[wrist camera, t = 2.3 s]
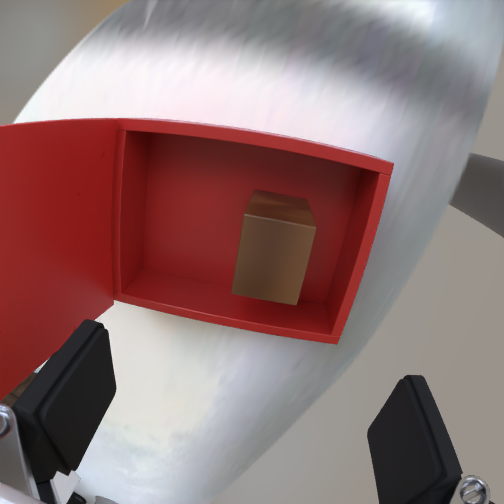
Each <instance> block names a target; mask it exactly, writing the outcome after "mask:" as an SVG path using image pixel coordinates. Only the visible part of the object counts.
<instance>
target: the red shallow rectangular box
mask: <svg viewBox="0 0 504 504" xmlns="http://www.w3.org/2000/svg"><path fill="white" fill-rule="evenodd" d="M117 119H118V120H117V129H116V139H115V150H114V164H113V180H112V206H111V257H112V283H113V300H117V301H120V302H124V303H128V304H132V305H136V306H140V307H144V308H148V309H152V310H156V311H160V312H164V313H168V314H173V315H177V316H181V317H186V318H190V319H195V320H199V321H204V322H209V323H214V324H218V325H223V326H228V327H234V328H239V329H244V330H249V331H255V332H260V333H266V334H272V335H277V336H283V337H290V338H296V339H302V340H309V341H315V342H322V343H330V344H338V341H339V339H340V336H341V334H342V331H343V329H344V326H345V324H346V321H347V318H348V316H349V313H350V310H351V307H352V305H353V302H354V299H355V296H356V293H357V290H358V287H359V285H360V282H361V279H362V276H363V273H364V270H365V266H366V263H367V260H368V257H369V254H370V251H371V247H372V244H373V241H374V237H375V234H376V231H377V227H378V224H379V220H380V216H381V213H382V209H383V205H384V202H385V198H386V194H387V190H388V186H389V182H390V178H391V174H392V170H393V166H394V163H391V162H388V161H386V160H383V159H380V158H377V157H375V156H372V155H368V154H364V153H361V152H357V151H353V150H349V149H345V148H341V147H336V146H332V145H328V144H323V143H319V142H314V141H310V140H305V139H300V138H295V137H290V136H285V135H279V134H274V133H268V132H262V131H256V130H250V129H244V128H237V127H230V126H223V125H215V124H207V123H198V122H189V121H179V120H168V119H155V118H117ZM255 189H257V190H263V191H268V192H273V193H279V194H284V195H289V196H294V197H299V198H304V199H307V201H308V204H309V207H310V210H311V213H312V216H313V219H314V222H315V225H316V233H315V237H314V241H313V245H312V249H311V253H310V257H309V261H308V265H307V269H306V272H305V276H304V280H303V284H302V288H301V291H300V295H299V299H298V302H297V305H290V304H284V303H279V302H273V301H268V300H262V299H257V298H251V297H246V296H241V295H236V294H232V293H231V289H232V283H233V276H234V270H235V264H236V257H237V251H238V245H239V238H240V232H241V226H242V220H243V214H244V212H245V210H246V207H247V205H248V203H249V201H250V198H251V196H252V194H253V191H254V190H255Z"/></svg>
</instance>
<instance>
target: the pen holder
mask: <svg viewBox="0 0 504 504" xmlns="http://www.w3.org/2000/svg"><path fill="white" fill-rule="evenodd" d="M66 504H86V500H85V499H84V498H82V497H81V496H79V495H78V494H76V493H74V492H73V493H72V494H71V496H70V498H69V500H68V502H67V503H66Z"/></svg>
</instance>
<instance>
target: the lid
mask: <svg viewBox="0 0 504 504" xmlns="http://www.w3.org/2000/svg"><path fill="white" fill-rule="evenodd" d="M117 120H118V119H117V118H83V119H62V120H47V121H35V122H25V123H16V124H7V125H0V401H1V400H2V399H3V398H5V397H6V396H7V395H8V394H9V393H10V392H11V391H12V390H13V389H15V388H16V387H17V386H18V385H19V384H20V383H21V382H22V381H23V380H25V379H26V378H27V377H28V376H29V375H30V374H31V373H33V372H34V371H35V370H36V369H37V368H38V367H39V366H41V365H42V364H43V363H44V362H45V361H46V360H48V359H49V358H50V357H51V356H52V355H53V354H54V353H55V352H56V351H58V350H59V349H60V348H61V347H62V345H63V344H64V343H65V342H66V341H67V339H68V338H69V337H70V336H71V335H72V333H73V332H74V331H75V330H76V329H77V327H78V326H79V325H80V324H81V323H82V322H83V321H84V320H85V319H89V320H93V321H94V320H95V319H96V318H98V317H99V316H100V315H101V314H103V313H104V312H105V311H106V310H107V309H109V308H110V307H111V306H112V305H114V300H113V283H112V257H111V206H112V180H113V164H114V150H115V139H116V129H117Z"/></svg>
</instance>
